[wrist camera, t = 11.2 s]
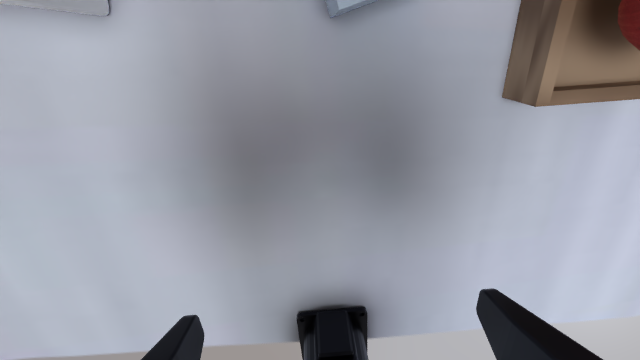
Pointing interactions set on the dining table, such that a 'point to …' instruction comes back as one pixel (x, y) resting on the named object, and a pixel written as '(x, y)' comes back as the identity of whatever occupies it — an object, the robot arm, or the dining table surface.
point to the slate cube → (344, 6)
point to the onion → (630, 21)
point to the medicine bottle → (65, 5)
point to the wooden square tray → (571, 54)
